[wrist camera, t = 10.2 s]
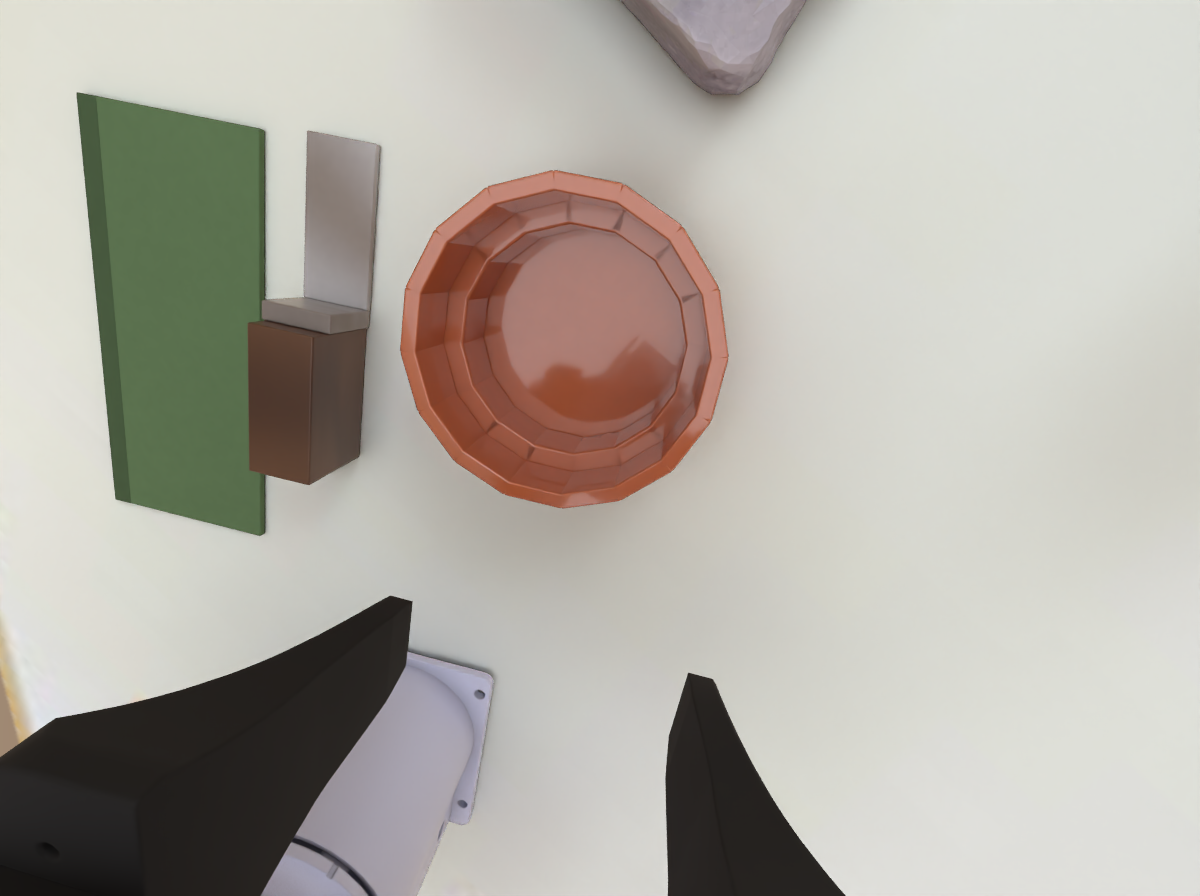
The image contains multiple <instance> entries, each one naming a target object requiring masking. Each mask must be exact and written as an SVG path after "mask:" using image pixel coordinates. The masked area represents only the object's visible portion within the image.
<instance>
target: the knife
mask: <svg viewBox="0 0 1200 896" xmlns="http://www.w3.org/2000/svg"><path fill="white" fill-rule="evenodd" d="M379 156H380V146H379V145H377V144H373V143H368V142H363V141H358V140H353V139H348V138H343V137H338V136H333V135H328V134H323V133H318V132H313V131H307V166H306V214H305V262H304V297H301V298H285V299H269V300H262V319H264V320H266V321H257V322H249V323H248V413H249V470H250V471H253V472H257V473H261V474H265V475H269V476H274V477H278V478H282V479H286V480H290V481H294V482H298V483H302V484H306V485H310V484H312V483H314V482H315V481H317V480H319V479H321V478H322V477H324V476H326V475H328V474H329V473H331V472H333V471H335V470H337V469H338V468H340V467H342V466H344V465H345V464H347V463H349V462H351V461H352V460H354V459H356V458H358V457H359V451H360V434H361V416H362V399H363V382H364V364H365V347H366V328H368V327H369V317H370V311H369V310H370V308H371V291H372V274H373V257H374V240H375V223H376V206H377V190H378V173H379Z"/></svg>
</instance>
